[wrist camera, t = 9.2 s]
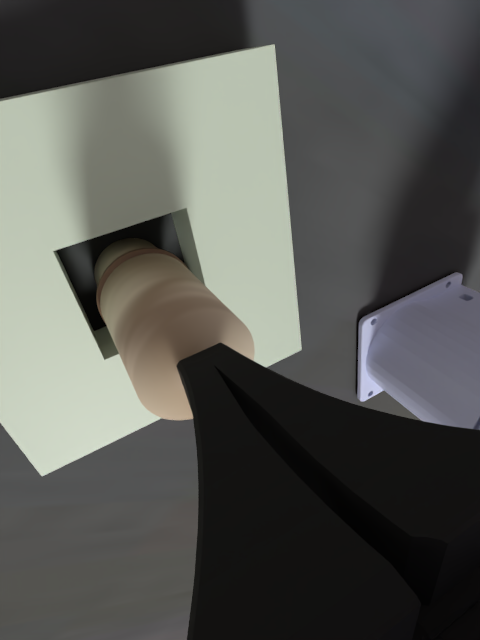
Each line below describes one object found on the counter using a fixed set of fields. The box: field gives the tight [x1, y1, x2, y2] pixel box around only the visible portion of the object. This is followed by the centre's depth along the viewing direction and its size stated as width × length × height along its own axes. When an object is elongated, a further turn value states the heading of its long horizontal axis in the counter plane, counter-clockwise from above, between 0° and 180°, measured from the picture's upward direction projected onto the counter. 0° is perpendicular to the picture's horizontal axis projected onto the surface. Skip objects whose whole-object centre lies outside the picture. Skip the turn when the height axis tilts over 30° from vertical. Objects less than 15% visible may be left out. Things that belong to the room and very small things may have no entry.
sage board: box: [0, 44, 302, 476], centre depth 17 cm, size 14×14×2 cm
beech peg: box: [94, 238, 255, 420], centre depth 15 cm, size 4×4×8 cm
